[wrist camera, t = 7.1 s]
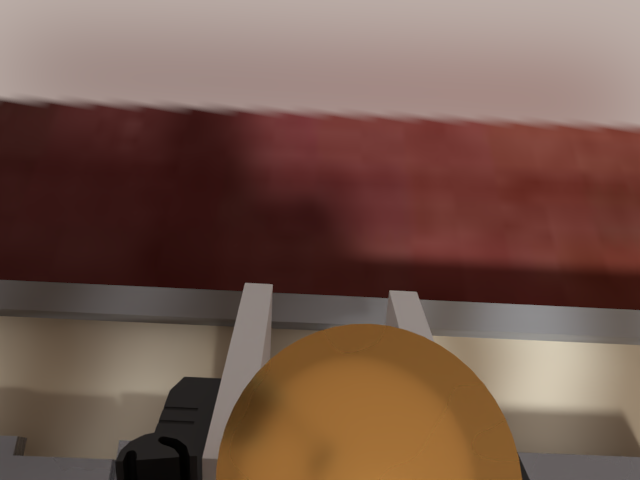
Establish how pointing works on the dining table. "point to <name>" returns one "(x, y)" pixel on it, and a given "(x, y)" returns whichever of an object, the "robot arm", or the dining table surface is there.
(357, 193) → the dining table surface
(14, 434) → the rail
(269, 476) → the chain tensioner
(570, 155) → the dining table surface
